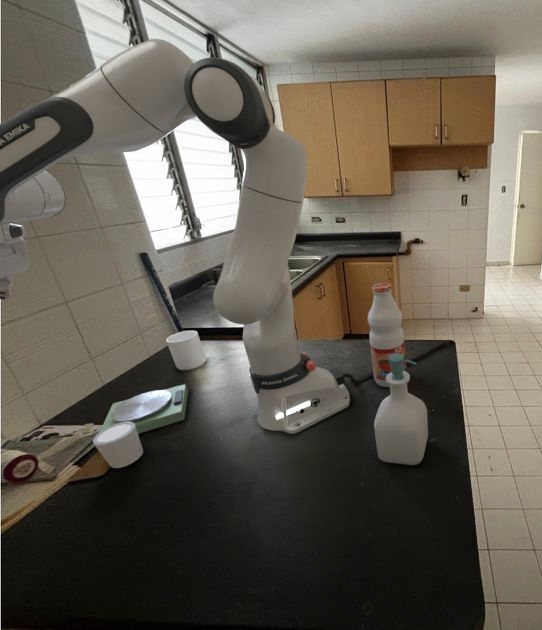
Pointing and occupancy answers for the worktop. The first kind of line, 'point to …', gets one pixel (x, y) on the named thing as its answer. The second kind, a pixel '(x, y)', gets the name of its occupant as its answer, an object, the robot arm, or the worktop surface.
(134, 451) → the white cylindrical container
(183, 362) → the cup
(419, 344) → the worktop surface
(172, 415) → the scale
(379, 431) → the soap bottle
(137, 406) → the scale pan
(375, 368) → the fruit juice
